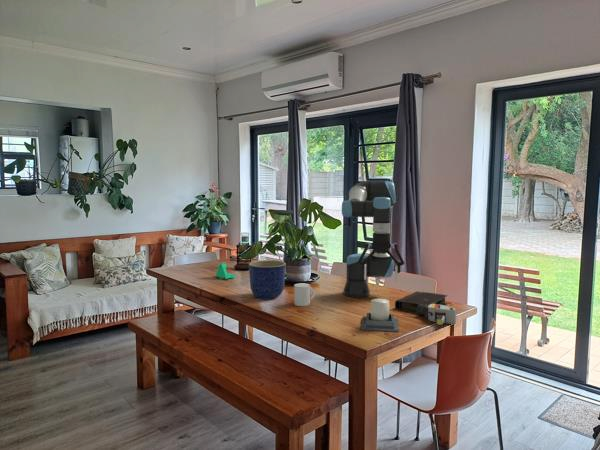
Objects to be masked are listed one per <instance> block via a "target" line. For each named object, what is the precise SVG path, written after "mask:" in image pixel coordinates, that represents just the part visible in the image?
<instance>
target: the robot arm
mask: <svg viewBox="0 0 600 450" xmlns="http://www.w3.org/2000/svg"><path fill="white" fill-rule="evenodd" d="M395 203H397V197H396V189H395V183H394V182H393V181H388V180H387V181H386V180H384V181H382V180H381V181H380V180H379V181H377V180H374V181H373V180H372V181H362V182H359V183H356V184H355V185H353V186H352V187H351V188H350V190H349V191H348V199H347V200H343V201H342V202H341V215H342V217H346V218H372V232H373V233H372V243H370V242H365V246H364V249H363V251H362V253H353V254H350V255H348V256H347V257H346V278H345V279H346V281H345V284H344V287H343V290H342V291H343V296H345V297H348V298H357V299H358V298H359V299H360V298H366V297H369V296H370V295H371V294H370V293H371V290H370V287H369V283H368V278H382V279H384V278H386V279H387V278H391V277H392V276H393V275H394V274H395V278H394V281H395V282H397V281H398V274H400V273H401V266H404V265H405V260H404V259H403V257H402V255H401V253H400V251H399V249H398V244H397V243H396V242H395V243H391V209H392V208H393V207H394V204H395ZM370 247H371V248H372V251H371V252H370V253H369V254H368V253H367V251H368V249H370ZM391 247H392V249H394V251H395V253H396V255H397V257H398V259H399V260H398V259H397V258H396V257H395V256H394V254H393V253H392V252H391V251H390V248H391ZM394 268H395V270H394ZM394 271H395V273H394Z"/></svg>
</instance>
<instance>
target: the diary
mask: <svg viewBox="0 0 600 450" xmlns="http://www.w3.org/2000/svg"><path fill="white" fill-rule="evenodd" d="M448 296H449V295H447V294H443V293H435V292H426V291H417V290H416V291H414V292H412V293H410V294H408V295H405V296H404V297H402V298H398V299H397V300H395V302H394V307H395V310H400V311H405V312H411V313H416V314H417V306H418V305H419V304H423V305H425V306H429V305H430V304H439V305H444V306H447V305H448V303H447V302H446V297H448Z"/></svg>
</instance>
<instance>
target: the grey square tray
mask: <svg viewBox="0 0 600 450" xmlns="http://www.w3.org/2000/svg"><path fill="white" fill-rule="evenodd" d="M360 326H361V327H360V328H361V330H362V331H376V332H377V331H378V332H394V333H395V332H396V333H399V332H400V328H399V327H400V326H399V321H398V318H397V317H394V313H389V321H374V320H371V312H366V316H362V319H361V325H360Z"/></svg>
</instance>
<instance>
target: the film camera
mask: <svg viewBox="0 0 600 450" xmlns="http://www.w3.org/2000/svg"><path fill="white" fill-rule="evenodd" d="M416 314H417V315H418V316H425V319H428V321H431V322H434V323H436V324H437V325H439V326H440V325H442V326H443V324H449V325H456V324H457V308H455V307H452V306H449V305H445V306H444V305H439V304H430V305H429V306H425V305H423V304H419V305H418V306H417V313H416Z"/></svg>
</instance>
